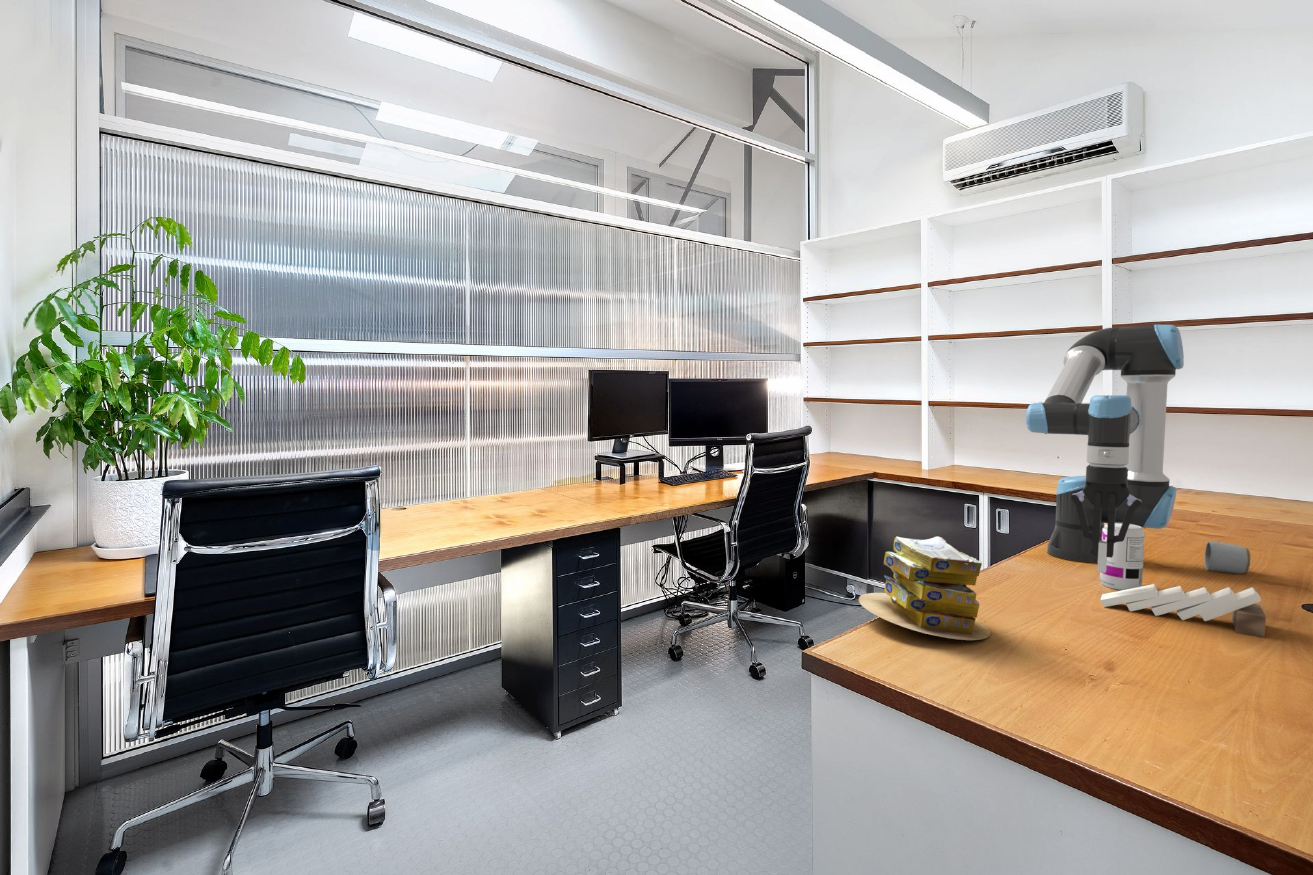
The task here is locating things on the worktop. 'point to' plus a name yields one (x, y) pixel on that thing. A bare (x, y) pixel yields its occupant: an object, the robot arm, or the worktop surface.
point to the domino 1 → (1129, 595)
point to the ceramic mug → (1227, 558)
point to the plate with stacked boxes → (929, 590)
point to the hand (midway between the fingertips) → (1101, 570)
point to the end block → (1250, 620)
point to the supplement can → (1125, 559)
